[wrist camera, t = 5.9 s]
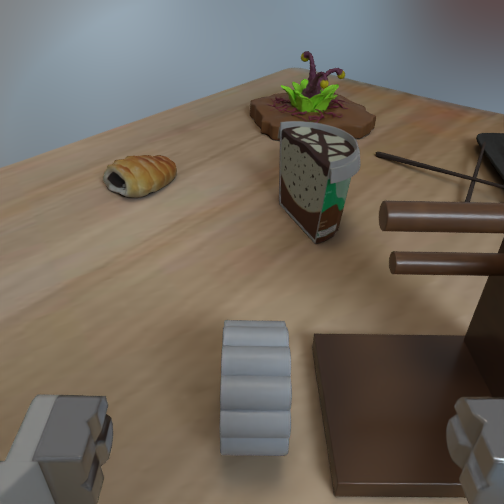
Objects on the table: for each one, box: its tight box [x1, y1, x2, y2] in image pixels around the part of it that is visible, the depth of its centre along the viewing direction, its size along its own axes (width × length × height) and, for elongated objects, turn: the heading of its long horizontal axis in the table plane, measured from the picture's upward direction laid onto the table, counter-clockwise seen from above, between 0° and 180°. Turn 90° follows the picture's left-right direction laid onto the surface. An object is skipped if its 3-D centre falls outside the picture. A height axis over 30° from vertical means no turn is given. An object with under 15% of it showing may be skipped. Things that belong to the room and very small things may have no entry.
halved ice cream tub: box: [278, 121, 360, 244], centre depth 54 cm, size 12×6×10 cm, turn 22°
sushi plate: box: [376, 133, 504, 202], centre depth 64 cm, size 29×30×4 cm
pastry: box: [103, 155, 177, 198], centre depth 61 cm, size 9×7×4 cm
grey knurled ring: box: [220, 320, 292, 456], centre depth 31 cm, size 4×8×8 cm, turn 0°
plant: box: [250, 51, 376, 140], centre depth 79 cm, size 20×20×11 cm
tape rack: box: [312, 201, 504, 497], centre depth 28 cm, size 15×12×24 cm
